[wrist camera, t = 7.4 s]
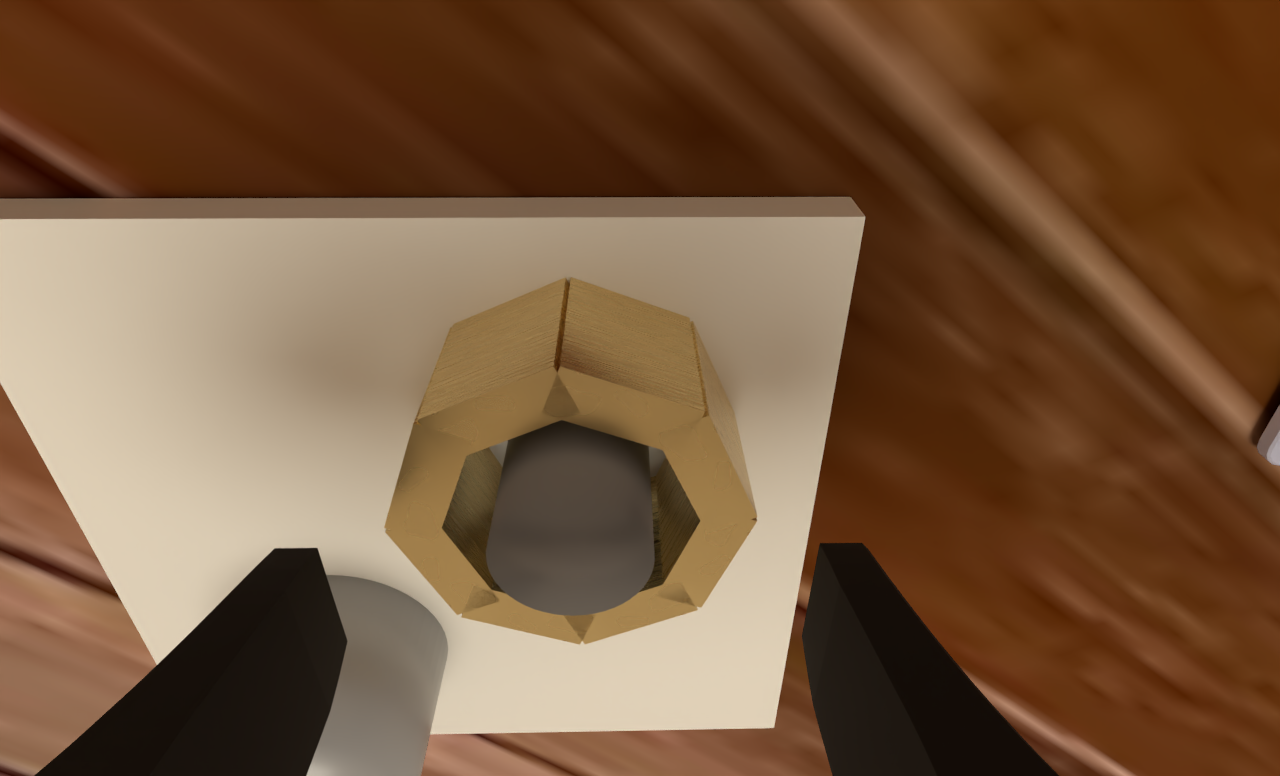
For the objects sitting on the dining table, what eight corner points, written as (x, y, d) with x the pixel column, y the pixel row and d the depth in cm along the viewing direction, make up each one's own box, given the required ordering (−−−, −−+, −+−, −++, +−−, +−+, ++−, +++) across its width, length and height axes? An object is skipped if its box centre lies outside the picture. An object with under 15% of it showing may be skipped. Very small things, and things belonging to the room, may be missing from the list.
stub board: (850, 196, 14) (951, 331, 10) (768, 695, 22) (802, 884, 18) (-46, 199, 13) (-348, 340, 9) (214, 705, 22) (117, 900, 17)
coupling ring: (774, 346, 14) (807, 444, 12) (657, 551, 17) (665, 664, 15) (474, 244, 13) (439, 329, 10) (404, 483, 16) (365, 595, 13)
